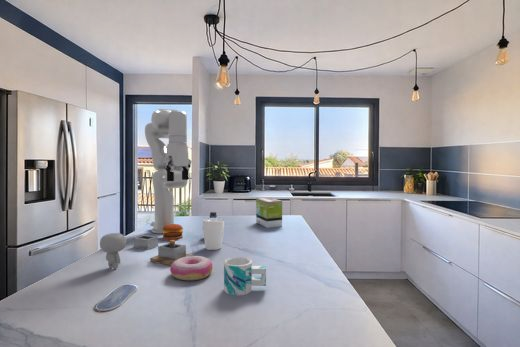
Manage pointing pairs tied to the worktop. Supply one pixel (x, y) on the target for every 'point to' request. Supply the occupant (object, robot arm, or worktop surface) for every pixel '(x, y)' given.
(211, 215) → the perfume bottle
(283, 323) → the worktop surface
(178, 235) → the hamburger
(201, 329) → the worktop surface
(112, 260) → the figurine
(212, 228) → the cup
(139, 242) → the grey hollow block
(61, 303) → the worktop surface
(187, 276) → the donut
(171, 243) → the keeper
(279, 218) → the tea box
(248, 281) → the mug
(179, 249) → the link
